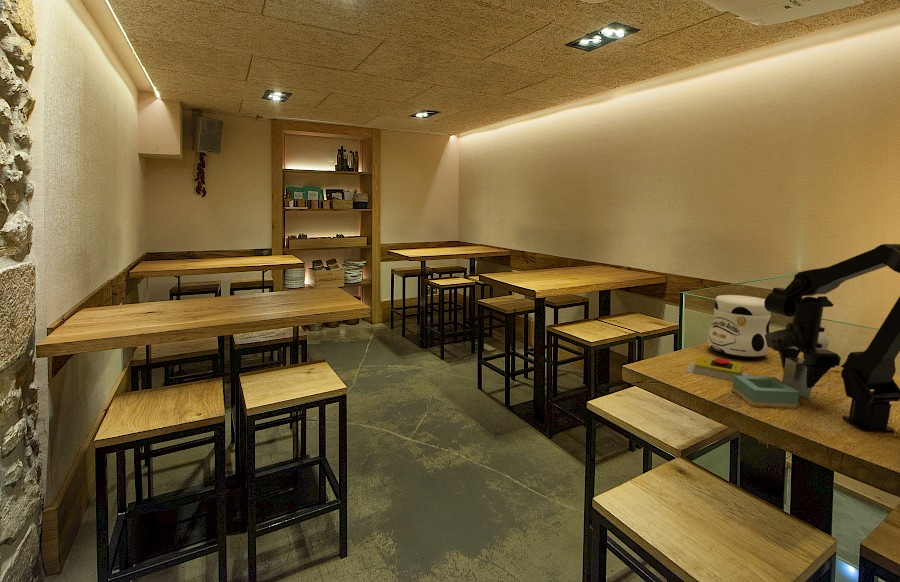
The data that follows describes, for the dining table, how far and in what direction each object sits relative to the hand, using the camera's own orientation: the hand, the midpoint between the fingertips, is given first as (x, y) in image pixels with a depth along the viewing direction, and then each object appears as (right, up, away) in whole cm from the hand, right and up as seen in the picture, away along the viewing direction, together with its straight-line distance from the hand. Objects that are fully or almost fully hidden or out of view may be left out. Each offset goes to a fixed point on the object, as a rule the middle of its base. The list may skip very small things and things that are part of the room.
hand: (797, 380), depth 122 cm
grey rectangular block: (0, -4, +1) cm, 4 cm away
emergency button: (-12, -1, +16) cm, 20 cm away
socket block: (-10, -4, -2) cm, 11 cm away
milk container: (+5, +2, +34) cm, 34 cm away
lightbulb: (+19, 0, +20) cm, 27 cm away
